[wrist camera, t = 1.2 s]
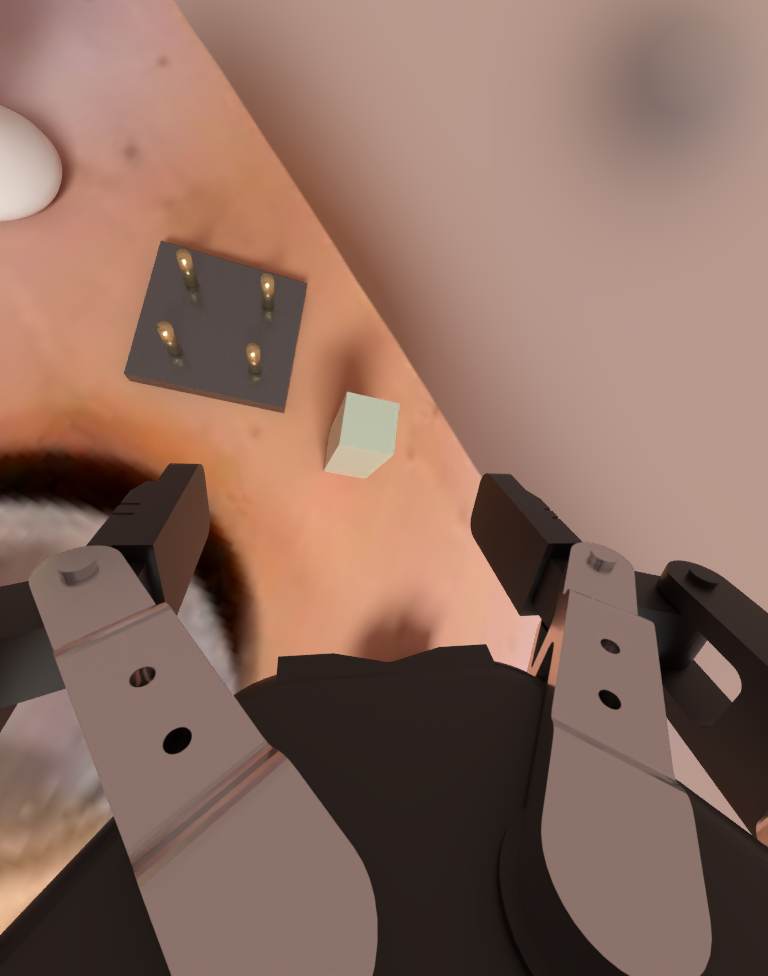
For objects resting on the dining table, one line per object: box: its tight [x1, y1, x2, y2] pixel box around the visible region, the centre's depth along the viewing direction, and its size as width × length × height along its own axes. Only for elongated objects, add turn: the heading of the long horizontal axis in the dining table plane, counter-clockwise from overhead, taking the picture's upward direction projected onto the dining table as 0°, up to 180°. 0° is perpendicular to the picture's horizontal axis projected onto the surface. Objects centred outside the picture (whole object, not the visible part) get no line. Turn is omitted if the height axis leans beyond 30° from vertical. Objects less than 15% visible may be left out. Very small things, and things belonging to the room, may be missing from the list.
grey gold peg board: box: [124, 241, 307, 413], centre depth 37 cm, size 14×14×5 cm
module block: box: [324, 392, 399, 478], centre depth 36 cm, size 4×4×10 cm
